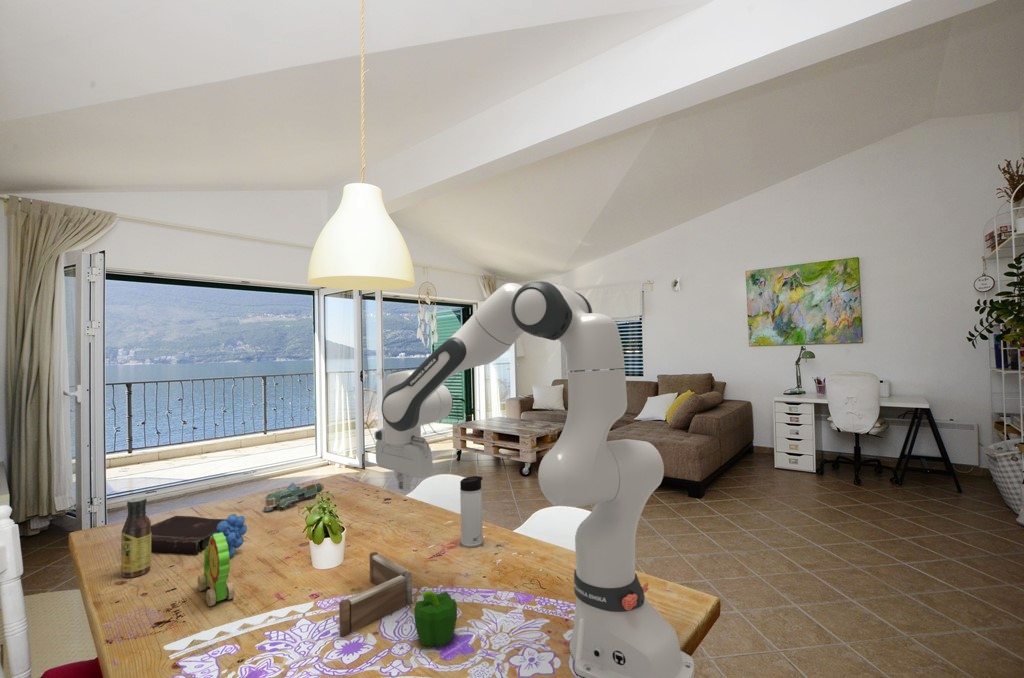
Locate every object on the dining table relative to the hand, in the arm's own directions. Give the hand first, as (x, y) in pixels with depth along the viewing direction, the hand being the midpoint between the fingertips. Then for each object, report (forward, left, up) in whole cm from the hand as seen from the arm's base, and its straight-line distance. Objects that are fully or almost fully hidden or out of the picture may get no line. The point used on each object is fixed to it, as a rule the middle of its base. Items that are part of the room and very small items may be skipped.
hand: (404, 489), depth 116 cm
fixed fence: (-9, +13, -23) cm, 28 cm away
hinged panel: (-1, +5, -22) cm, 23 cm away
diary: (+76, +30, -24) cm, 85 cm away
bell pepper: (-24, +9, -23) cm, 35 cm away
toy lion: (+30, +33, -23) cm, 50 cm away
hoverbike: (+86, -8, -23) cm, 90 cm away
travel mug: (+4, -26, -23) cm, 35 cm away
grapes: (+52, +25, -23) cm, 62 cm away
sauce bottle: (+60, +44, -23) cm, 78 cm away
